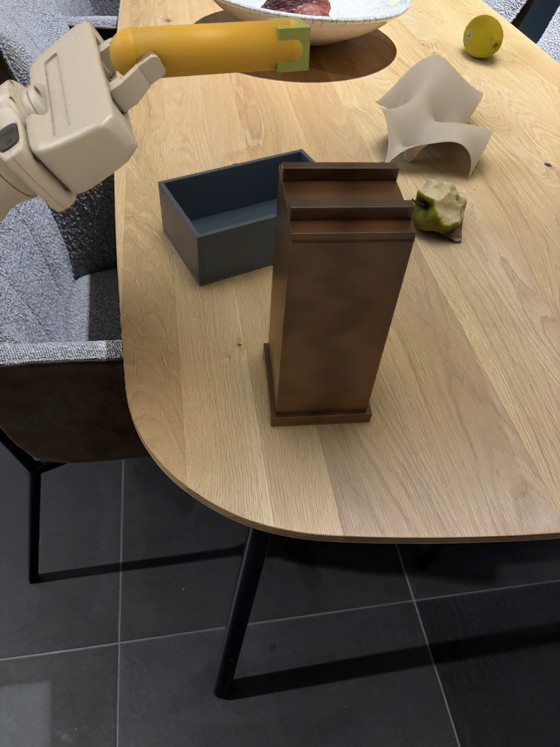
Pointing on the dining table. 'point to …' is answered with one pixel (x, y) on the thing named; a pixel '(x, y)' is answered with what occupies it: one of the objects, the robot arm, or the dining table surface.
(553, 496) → the dining table surface
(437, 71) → the sculpture
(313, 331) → the pedestal
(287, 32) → the corn cob
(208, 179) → the blue-grey open box
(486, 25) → the lemon
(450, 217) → the fruit
